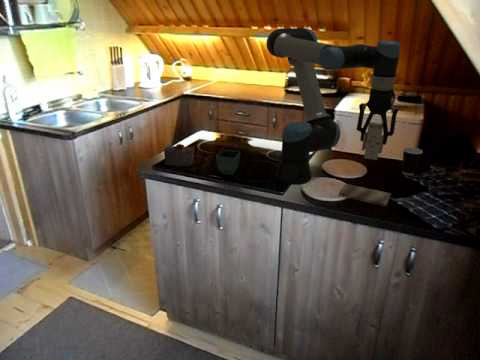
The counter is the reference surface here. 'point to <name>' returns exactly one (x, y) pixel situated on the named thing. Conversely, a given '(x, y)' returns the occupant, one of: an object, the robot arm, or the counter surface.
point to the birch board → (365, 194)
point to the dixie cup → (410, 160)
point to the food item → (179, 155)
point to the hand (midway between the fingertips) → (371, 150)
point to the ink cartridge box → (373, 140)
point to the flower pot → (228, 161)
